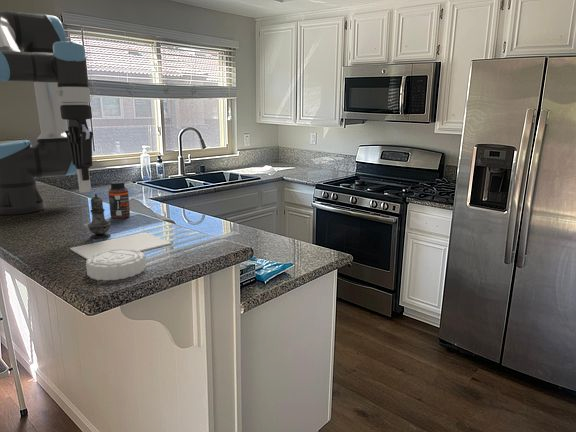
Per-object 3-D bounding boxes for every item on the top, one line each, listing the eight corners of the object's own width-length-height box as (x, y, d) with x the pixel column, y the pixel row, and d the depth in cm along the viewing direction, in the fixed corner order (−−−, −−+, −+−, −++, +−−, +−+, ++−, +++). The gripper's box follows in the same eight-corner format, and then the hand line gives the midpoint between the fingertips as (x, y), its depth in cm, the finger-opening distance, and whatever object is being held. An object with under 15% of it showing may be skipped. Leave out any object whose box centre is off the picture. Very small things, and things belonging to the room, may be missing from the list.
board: (70, 249, 110) (70, 248, 110) (145, 233, 124) (144, 232, 124) (93, 263, 100) (92, 261, 100) (171, 244, 114) (171, 242, 114)
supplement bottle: (123, 219, 140) (120, 184, 137) (106, 218, 141) (103, 183, 138) (133, 215, 145) (130, 180, 143) (117, 214, 146) (114, 180, 144)
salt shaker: (85, 236, 121) (79, 193, 118) (105, 232, 125) (101, 190, 122) (94, 241, 117) (89, 196, 114) (115, 236, 121) (111, 193, 118)
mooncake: (74, 277, 93) (72, 261, 92) (114, 259, 104) (112, 244, 103) (120, 284, 89) (118, 268, 88) (157, 265, 100) (156, 250, 99)
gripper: (51, 104, 119) (62, 190, 125) (69, 103, 110) (80, 196, 116) (80, 104, 125) (89, 187, 130) (99, 104, 116) (108, 192, 121)
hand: (85, 191), depth 123 cm, fingers closed
